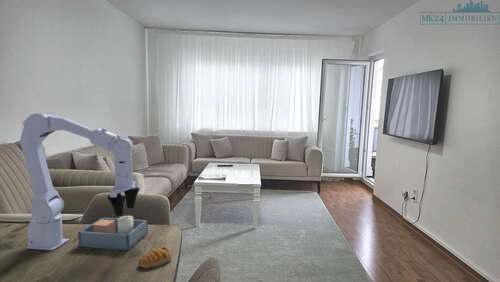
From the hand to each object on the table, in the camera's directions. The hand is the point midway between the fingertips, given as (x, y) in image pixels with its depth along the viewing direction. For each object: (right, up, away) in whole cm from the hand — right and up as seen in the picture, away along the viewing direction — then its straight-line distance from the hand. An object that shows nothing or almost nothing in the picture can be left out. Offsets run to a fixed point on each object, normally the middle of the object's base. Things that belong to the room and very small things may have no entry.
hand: (125, 211), depth 105 cm
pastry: (+15, -13, -13) cm, 23 cm away
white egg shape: (0, -9, +1) cm, 9 cm away
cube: (-8, -9, +2) cm, 12 cm away
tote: (-4, -10, +2) cm, 11 cm away
